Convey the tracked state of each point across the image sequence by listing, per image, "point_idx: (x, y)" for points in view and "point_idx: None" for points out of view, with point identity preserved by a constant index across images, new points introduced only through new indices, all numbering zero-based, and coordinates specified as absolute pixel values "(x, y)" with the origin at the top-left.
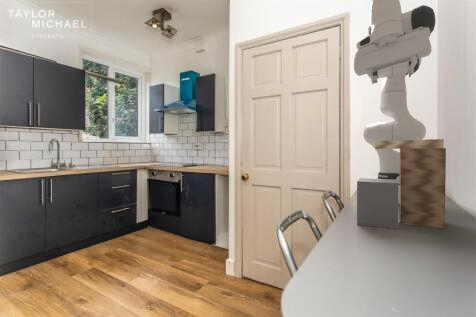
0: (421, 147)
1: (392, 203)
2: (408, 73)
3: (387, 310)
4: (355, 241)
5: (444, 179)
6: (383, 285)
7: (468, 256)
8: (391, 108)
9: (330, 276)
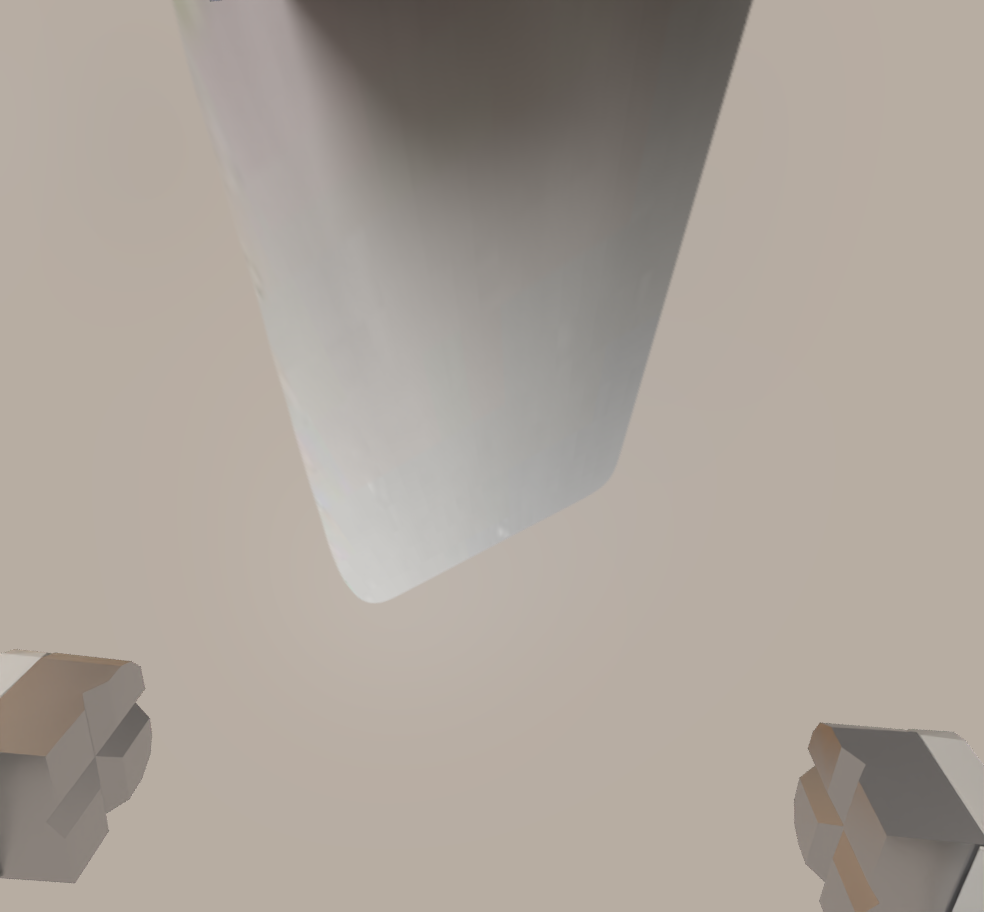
0: None
1: None
2: (814, 761)
3: (494, 540)
4: (355, 254)
5: None
6: (480, 477)
7: (689, 192)
8: None
9: (380, 498)
